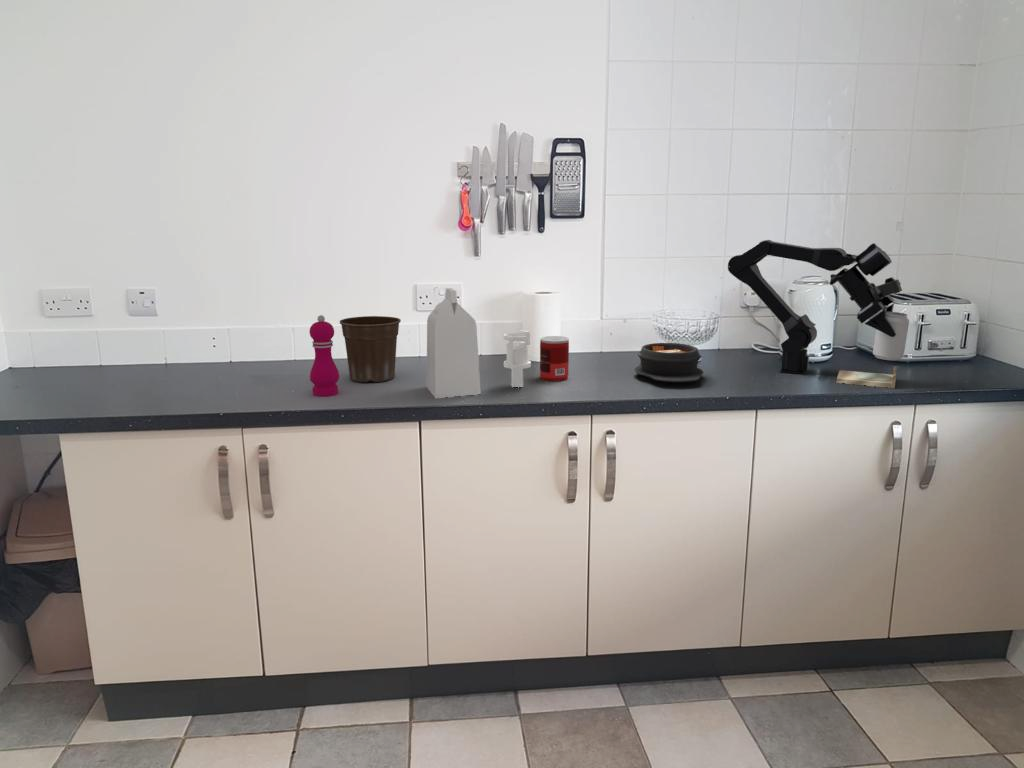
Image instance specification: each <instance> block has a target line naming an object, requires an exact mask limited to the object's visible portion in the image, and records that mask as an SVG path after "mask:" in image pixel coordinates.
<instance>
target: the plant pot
mask: <svg viewBox="0 0 1024 768" xmlns="http://www.w3.org/2000/svg"><path fill="white" fill-rule="evenodd" d="M401 321H402V320H401V318H398V317H394V316H383V315H381V316H380V315H378V316H377V315H370V316H369V315H368V316H367V315H366V316H365V315H364V316H353V317H347V318H343V319H340V320H339V324H340V326H341V331H342V336H343V338H344V344H345V350H346V357H347V365H348V373H349V374H348V375H349V379H350V380H351V381H353V382H357V383H369V382H373V383H380V382H381V383H382V382H383V383H384V382H388V381H391V380H392V379H394V378H395V375H396V357H397V345H398V344H397V342H398V335H399V330H400V329H399V328H400V323H401Z"/></svg>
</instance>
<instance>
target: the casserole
mask: <svg viewBox="0 0 1024 768" xmlns="http://www.w3.org/2000/svg"><path fill="white" fill-rule="evenodd" d="M637 356H638V358H639V359H640V363H639V365H637V366H635V368H634V372H635V373H636V374H638V375H640V376H643V377H646V378H647V379H650V380H654V381H658V382H664V383H690V382H691V383H692V382H697V381H699V380H700V379H701V376H702V375H703V374H704V371H703V369H702V368H699V367H698V365H699V361H700V360H701V358H702V355H701V354H700V352H699V349H698V347H696V346H693V345H690V344H686V343H677V342H655V343H649V344H644V345H642V347H641V348H640V350H639V352H638V353H637Z"/></svg>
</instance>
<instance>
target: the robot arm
mask: <svg viewBox="0 0 1024 768" xmlns="http://www.w3.org/2000/svg"><path fill="white" fill-rule="evenodd" d="M767 256H771V257H777V258H782V259H788V260H795V261H799V262H805V263H809V264H811V265H814V266H815V267H818V268H820V269H823V270H825V271H829V272H834V271H837V270H839V272H838V273H836V274H834V273H832V274H830V281H829V285H830V286H832V285H835V284H836V283H839V284H840V285H841V287H842V288H843V290H844V291H845V292H846V293H847V294H848V295H849V296H850V297H849V299H850V300H851V302H853V301H854V302H855V304H856V305H857V306H858V308H860V309H859V311H858V312H857V315H856V319H857V320H858V321H859V322H860V323H861V324H863V323H864V324H865V325H866V326H868V327H871V328H873V329H874V330H876V329H877V330H879V331H881V332H883V333H885V334H887V335H889V336H891V337H894V336H895V335H896V333H895V332H894V330H893V328H892V326H891V325H890V323H889V321H888V320H887V318H886V312H894V306H895V299H894V298H893V297H892V296H891V295H892V294H893V295H894V294H899V293H901V292H902V291H903V289H902V286H901V282H900V280H899V278H897V279H895V278H894V277H892V276H891V277H889V278H885V281H884V283H882V284H879V285H876V284H875V283H874V282H870V281H868V279H867V278H866V277H865V276H869V275H870V276H871V277H874V276H875V275H877V274H878V273H879V272H880V271H882V270H884V269H885V268H886V267H887V266H889V265H891V263H892V259H891V258H890V256H889V254H888V253H887V252H886V251H884V250H883V249H882V248H881V247H879V246H878V245H877V244H876V243H875V242H874V243H871V244H869V246H867V248H866V249H865V250H864V251H862V252H861V253H859V254H858V255H856V254H851V253H847V252H846V251H845V249H843V248H842V247H817V248H816V247H807V246H803V245H796V244H790V243H784V242H779V241H774V240H770V239H766V240H762V241H759V243H757V244H756V245H755V246H753V247H752V248H750V249H749V250H747V251H744V253H742V254H737V255H735V256H732V257H731V258H730V259H729V260H728V263H727V270H728V272H729V273H730V274H731V276H733V277H735V278H736V279H737V280H738V281H740V282H741V283H744V285H747V286H748V287H749V288H750V289H751V290H752V291H753V292H754V293H755V294H756V296H757V297H758V298H759V299H760V300H761V302H763V303H764V305H766V307H767V308H768V309H769V311H771V313H773V315H774V316H775V317H776V318H777V319H778V320H779V322H780V323H781V324H782V326H783V328H784V331H785V334H786V335H787V337H788V338H787V339H786V340H784V341H783V342H782V343H781V344H780V347H781V349H782V350H781V351H782V356H781V367H780V370H779V372H780V373H787V374H788V373H789V374H799V375H800V374H801V375H805V374H806V372H807V371H809V362H810V361H809V360H810V356H809V355H808V348H809V345H810V344H812V343H813V342H815V340H816V339H817V336H818V330H817V328H816V323H814V322H813V321H811V319H810V318H809V316H808V315H807V314H806V313H805V314H803V315H801V316H800V315H799V314H797V313H796V312H795V311H794V310H793V309H792V308H791V307H790V305H788V303H786V301H785V300H784V299H783V298H782V297H781V296H780V295H779V294H778V292H777V291H776V290H775V289H774V288H773V287H772V286H771V285H770V284H769V282H768V281H767V280H766V279H765V278H764V277H763V275H762V272H761V270H760V269H759V266H758V263H759V262H761V261H762V260H764V259H765V258H767ZM853 264H854V265H853ZM850 265H853V266H852V267H850V268H849V269H848V268H847V266H850ZM845 266H846V268H844V267H845ZM842 268H843V269H842ZM841 269H842V270H841ZM840 270H841V271H840ZM864 275H865V276H864ZM893 302H894V303H893Z"/></svg>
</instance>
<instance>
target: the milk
mask: <svg viewBox="0 0 1024 768" xmlns="http://www.w3.org/2000/svg"><path fill="white" fill-rule="evenodd" d="M444 295H445V296H444V299H443V300H442V301H441V302H439V303H438V304H436V305H435V306H434V308H433V310H432V311H431V312H430V314H429V315H428V316H427V320H426V321H427V322H426V388H427V389H428V391H429V393H431V395H432V396H433V397H434V398H435V399H445V397H448V398H455V397H454V396H461V397H466V396H465V395H474V396H478V395H477V394H481V393H482V392H481V376H480V363H479V361H480V360H479V345H478V344H479V343H478V342H479V340H478V327H477V322H476V319H475V318H474V317H473V316H472V315H471V314H470V313H469V312H468V311H466V309H464V308H463V306H462V305H461V304H459V303H458V298H457V296H458V295H457V290H455V289H453V288H451V287H449V288H447V287H446V288H445V293H444Z"/></svg>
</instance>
